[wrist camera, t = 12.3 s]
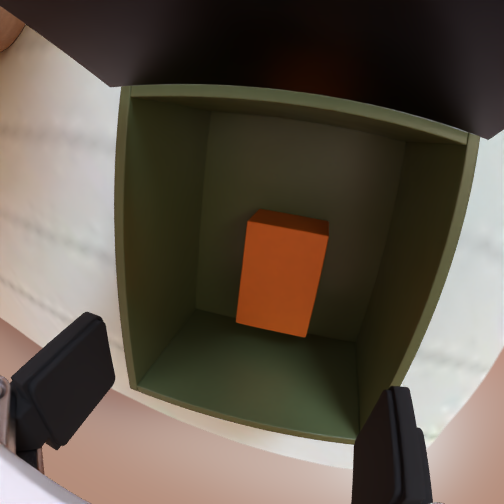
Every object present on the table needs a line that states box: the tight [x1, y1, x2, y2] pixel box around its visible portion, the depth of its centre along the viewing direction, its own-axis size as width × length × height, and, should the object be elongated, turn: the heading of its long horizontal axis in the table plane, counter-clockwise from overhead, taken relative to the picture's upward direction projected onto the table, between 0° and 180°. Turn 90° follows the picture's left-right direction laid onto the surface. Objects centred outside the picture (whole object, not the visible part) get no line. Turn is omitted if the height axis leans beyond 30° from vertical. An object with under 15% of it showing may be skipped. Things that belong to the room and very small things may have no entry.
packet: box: [236, 209, 329, 337], centre depth 19 cm, size 6×4×3 cm
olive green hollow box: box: [114, 84, 480, 445], centre depth 16 cm, size 15×13×10 cm
